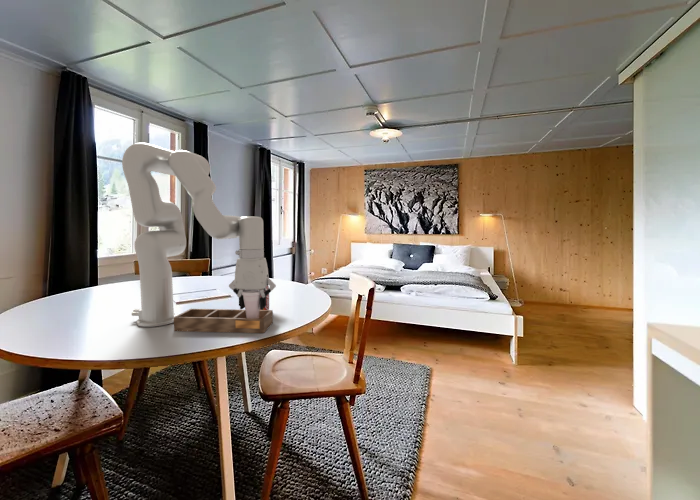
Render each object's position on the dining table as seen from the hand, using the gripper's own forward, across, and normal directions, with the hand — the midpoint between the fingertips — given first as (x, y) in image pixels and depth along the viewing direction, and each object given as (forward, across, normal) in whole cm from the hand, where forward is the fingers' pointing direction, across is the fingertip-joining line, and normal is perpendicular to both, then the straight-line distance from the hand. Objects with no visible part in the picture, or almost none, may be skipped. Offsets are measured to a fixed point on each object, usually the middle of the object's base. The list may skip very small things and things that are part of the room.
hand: (252, 307), depth 104 cm
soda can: (+7, -3, +16) cm, 18 cm away
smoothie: (+4, 0, 0) cm, 4 cm away
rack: (+7, -9, 0) cm, 11 cm away
